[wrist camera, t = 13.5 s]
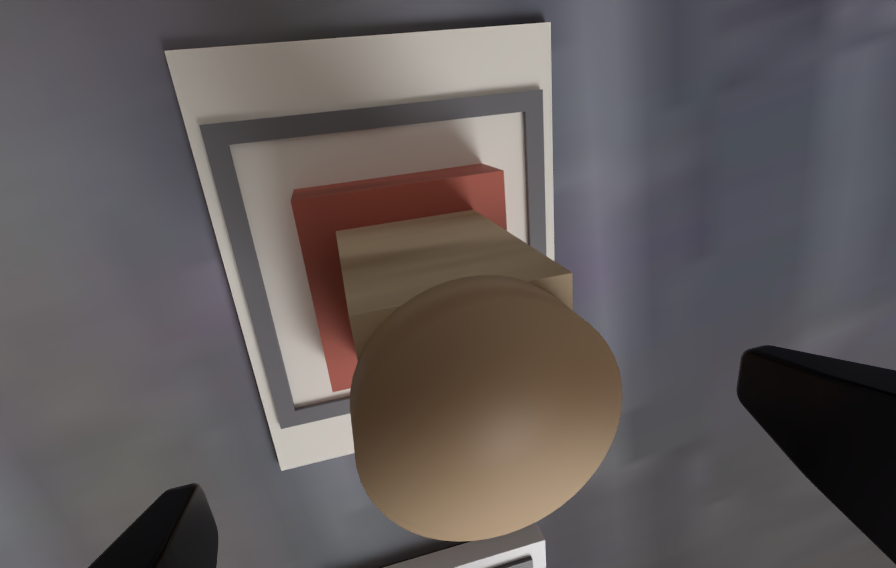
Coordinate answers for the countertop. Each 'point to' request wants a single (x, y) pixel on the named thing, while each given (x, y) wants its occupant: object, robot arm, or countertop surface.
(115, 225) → the countertop surface
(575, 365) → the stamp
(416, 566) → the ink pad
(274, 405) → the print sheet
